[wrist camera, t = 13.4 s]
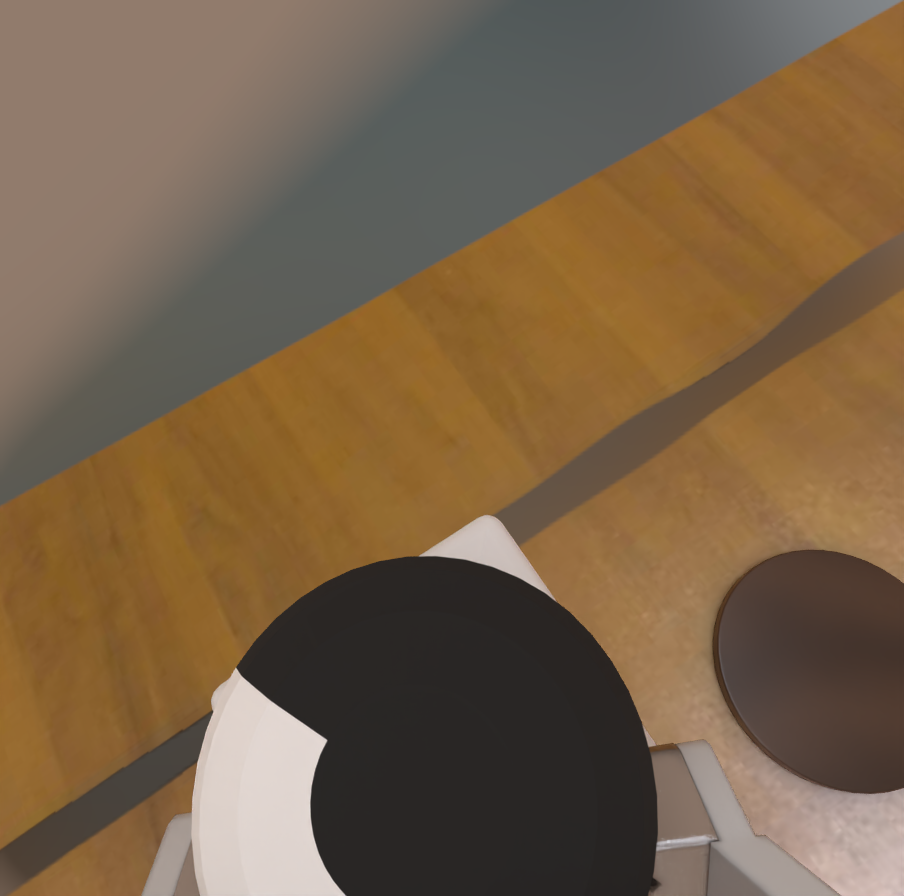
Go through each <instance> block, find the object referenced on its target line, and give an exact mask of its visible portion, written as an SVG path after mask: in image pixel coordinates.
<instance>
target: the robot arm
mask: <svg viewBox="0 0 904 896" xmlns="http://www.w3.org/2000/svg"><path fill="white" fill-rule="evenodd" d="M649 750H650V754H651V757H652V764H653V770H654V777H655V784H656V791H657V812H658V837H657V847H656V857H655V866H654V873H653V878H652V882H651V886H650V890H649V895H648V896H841V895H840V894H839V893H837V892H836V891H835V890H834V889H832V888H831V887H830V886H829V885H827V884H826V883H825V882H824V881H822V880H821V879H820V878H818V877H817V876H816V875H815V874H813V873H812V872H811V871H810V870H808V869H807V868H806V867H805V866H803V865H802V864H801V863H800V862H798V861H797V860H796V859H795V858H793V857H792V856H791V855H790V854H788V853H787V852H786V851H785V850H783V849H782V848H781V847H780V846H778V845H777V844H776V843H775V842H773V841H772V840H771V839H770V838H768V837H767V836H766V835H760V836H756V835H755V833H754V831H753V829H752V827H751V825H750V823H749V821H748V819H747V817H746V815H745V813H744V811H743V809H742V807H741V805H740V803H739V801H738V799H737V797H736V795H735V793H734V791H733V789H732V787H731V785H730V783H729V781H728V779H727V777H726V775H725V773H724V771H723V769H722V767H721V765H720V763H719V761H718V759H717V757H716V755H715V753H714V751H713V749H712V747H711V745H710V744H709V743H708V742H707V741H706V740H704V739H701V740H695V741H689V742H684V743H678V744H674V743H670V744H664V745H657V746H651V747H649ZM191 830H192V812H191V813H184V814H177V815H175V816H174V817H173V819H172V820H171V822H170V823H169V825H168V826H167V828H166V831H165V834H164V836H163V839H162V842H161V844H160V847H159V850H158V852H157V855H156V858H155V860H154V863H153V866H152V868H151V871H150V874H149V876H148V879H147V882H146V884H145V887H144V890H143V892H142V895H141V896H200V893H199V889H198V884H197V880H196V875H195V868H194V858H193V847H192V836H191Z"/></svg>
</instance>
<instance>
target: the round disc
mask: <svg viewBox="0 0 904 896" xmlns="http://www.w3.org/2000/svg"><path fill="white" fill-rule="evenodd" d="M713 654H714V662H715V669H716V673H717V677H718V681H719V684H720V687H721V690H722V692H723V695H724V697H725V700H726V702H727V704H728V706H729V707H730V709H731V711H732V713H733V715H734V717H735V718H736V719H737V721H738V722H739V724H740V725H741V727H742V728H743V730H744V731H745V732H746V733H747V734H748V736H749V737H750V738H751V739H752V740H753V742H754V743H755V744H756V745H757V746H758V747H759V748H760V749H762V750H763V751H764V752H765V753H766V754H767V755H768V756H769V757H770V758H772V759H773V760H774V761H776V762H777V763H778V764H780V765H781V766H782V767H784V768H786V769H787V770H789V771H791V772H792V773H794V774H796V775H797V776H799V777H801V778H804V779H806V780H808V781H810V782H812V783H815V784H818V785H821V786H824V787H828V788H831V789H835V790H840V791H846V792H851V793H864V794H875V793H885V792H891V791H895V790H899V789H902V788H904V583H902V582H901V581H900V580H898V579H897V578H896V577H894V576H893V575H891V574H889V573H888V572H886V571H885V570H883V569H881V568H879V567H877V566H875V565H873V564H871V563H869V562H867V561H864V560H862V559H859V558H856V557H853V556H850V555H846V554H842V553H838V552H832V551H825V550H801V551H792V552H789V553H785V554H781V555H778V556H775V557H773V558H770V559H768V560H766V561H764V562H762V563H761V564H759V565H757V566H756V567H754V568H752V569H751V570H749V571H748V572H747V573H746V574H744V575H743V576H742V577H741V578H740V579H739V580H738V581H737V582H736V583H735V584H734V586H733V587H732V588H731V590H730V591H729V593H728V594H727V596H726V597H725V599H724V601H723V603H722V605H721V608H720V610H719V613H718V616H717V620H716V623H715V630H714V637H713Z"/></svg>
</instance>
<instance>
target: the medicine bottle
mask: <svg viewBox="0 0 904 896" xmlns="http://www.w3.org/2000/svg"><path fill="white" fill-rule="evenodd" d="M211 703H212V709H213V711H214V712H213V715H212V717H211V720H210V722H209V725H208V727H207V730H206V734H205V738H204V741H203V745H202V749H201V752H200V756H199V760H198V764H197V771H196V777H195V784H194V791H193V797H192V830H191V836H192V847H193V858H194V868H195V875H196V880H197V884H198V889H199V893H200V896H648V895H649V890H650V886H651V882H652V878H653V873H654V866H655V857H656V847H657V837H658V812H657V791H656V784H655V777H654V770H653V764H652V757H651V754H650V750H649V747H651V746H657V745H656V743H655V742H654V741H653V739H652V738H651V736H650V735H649V733H648V732H647V731H646V729H645V728H644V726H643V725H642V722H641V720H640V717H639V715H638V712H637V710H636V707H635V705H634V703H633V700H632V698H631V695H630V693H629V691H628V689H627V687H626V685H625V684H624V682H623V680H622V678H621V677H620V675H619V673H618V671H617V670H616V668H615V666H614V664H613V663H612V661H611V660H610V658H609V657H608V656H607V654H606V653H605V652H604V650H603V649H602V648H601V646H600V645H599V644H598V642H597V641H596V640H595V638H594V637H593V636H592V635H591V633H590V632H589V631H588V630H587V629H586V628H585V627H584V626H583V625H582V624H581V623H580V622H579V621H578V620H577V619H576V618H575V617H574V616H573V615H572V614H571V613H570V612H569V611H568V610H566V609H565V608H564V607H562V606H561V605H560V604H559V603H557V601H556V600H555V598H554V597H553V596H552V594H551V593H550V591H549V590H548V588H547V587H546V586H545V584H544V583H543V581H542V580H541V578H540V577H539V576H538V574H537V573H536V571H535V570H534V568H533V567H532V565H531V564H530V563H529V561H528V560H527V558H526V557H525V555H524V554H523V553H522V551H521V550H520V548H519V547H518V545H517V544H516V543H515V541H514V540H513V538H512V537H511V535H510V534H509V532H508V531H507V530H506V528H505V527H504V525H503V524H502V522H500V521H499V520H498V519H497V518H496V517H494V516H489V515H485V516H482V517H479V518H477V519H475V520H474V521H472V522H471V523H469V524H468V525H466V526H465V527H463V528H462V529H460V530H458V531H457V532H455V533H454V534H452V535H451V536H449V537H448V538H446V539H445V540H443V541H441V542H440V543H438V544H437V545H435V546H434V547H432V548H431V549H429V550H428V551H426V552H424V553H423V554H421V555H420V556H418V557H403V558H397V559H391V560H385V561H379V562H376V563H372V564H369V565H366V566H363V567H360V568H356V569H353V570H350V571H348V572H346V573H344V574H342V575H340V576H338V577H335V578H333V579H331V580H329V581H327V582H325V583H323V584H322V585H320V586H319V587H317V588H315V589H314V590H312V591H311V592H309V593H308V594H306V595H304V596H303V597H301V598H300V599H299V600H297V601H296V602H295V603H294V604H293V605H291V606H290V607H289V608H288V609H287V610H285V611H284V612H283V613H282V614H281V615H279V616H278V617H277V618H276V619H275V620H274V621H273V622H272V623H271V624H270V625H269V627H268V628H267V629H266V630H265V631H264V632H263V633H262V634H261V635H260V636H259V637H258V638H257V639H256V641H255V642H254V643H253V645H252V646H251V647H250V649H249V650H248V651H247V653H246V654H245V656H244V657H243V658H242V660H241V661H240V663H239V664H238V665H237V667H236V668H235V670H234V672H233V674H232V676H231V677H230V679H228V680H227V681H225V682H224V683H222V684H221V685H220V686H219V687H218V688H217V689H216V690H215V691H214V693H213V696H212V699H211Z"/></svg>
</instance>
